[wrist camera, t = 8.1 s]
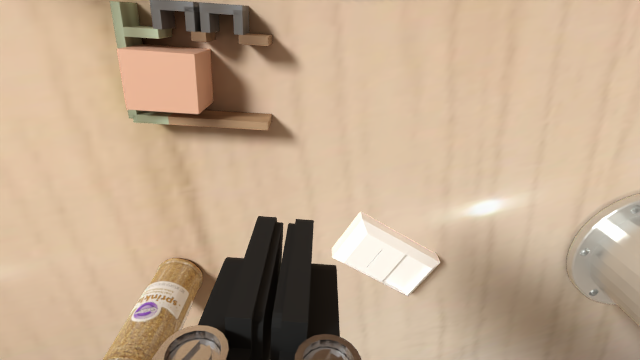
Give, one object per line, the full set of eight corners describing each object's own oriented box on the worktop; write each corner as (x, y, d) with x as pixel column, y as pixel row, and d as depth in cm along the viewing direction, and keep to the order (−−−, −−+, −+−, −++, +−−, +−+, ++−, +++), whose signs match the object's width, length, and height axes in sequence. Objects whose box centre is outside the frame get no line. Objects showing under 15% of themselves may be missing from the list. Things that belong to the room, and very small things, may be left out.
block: (210, 48, 27) (194, 54, 23) (213, 101, 29) (198, 114, 25) (143, 44, 27) (116, 48, 23) (150, 97, 29) (126, 109, 25)
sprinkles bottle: (190, 250, 35) (121, 379, 23) (211, 285, 37) (158, 421, 24) (149, 263, 35) (60, 395, 23) (172, 297, 37) (100, 435, 25)
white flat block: (360, 209, 33) (363, 224, 31) (434, 250, 35) (443, 268, 33) (331, 246, 35) (332, 263, 33) (404, 283, 37) (410, 302, 35)
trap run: (272, 7, 26) (268, 7, 23) (271, 121, 29) (267, 130, 27) (127, -3, 25) (108, -5, 23) (144, 113, 29) (129, 122, 27)
